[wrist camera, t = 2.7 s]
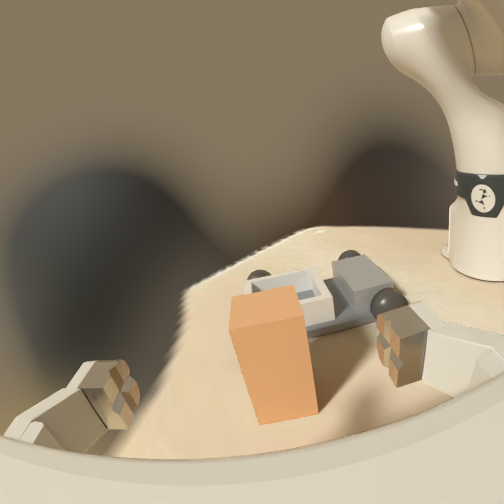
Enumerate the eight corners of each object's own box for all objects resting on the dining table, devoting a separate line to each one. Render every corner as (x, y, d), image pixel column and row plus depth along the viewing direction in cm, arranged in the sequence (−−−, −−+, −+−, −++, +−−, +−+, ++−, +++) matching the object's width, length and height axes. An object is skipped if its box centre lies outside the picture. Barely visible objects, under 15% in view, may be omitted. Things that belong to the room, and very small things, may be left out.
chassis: (368, 270, 46) (366, 246, 45) (415, 319, 31) (416, 288, 30) (243, 298, 47) (237, 274, 46) (242, 362, 32) (233, 332, 31)
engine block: (309, 376, 27) (293, 284, 24) (318, 413, 23) (303, 314, 20) (257, 387, 28) (231, 297, 25) (259, 425, 23) (228, 330, 20)
